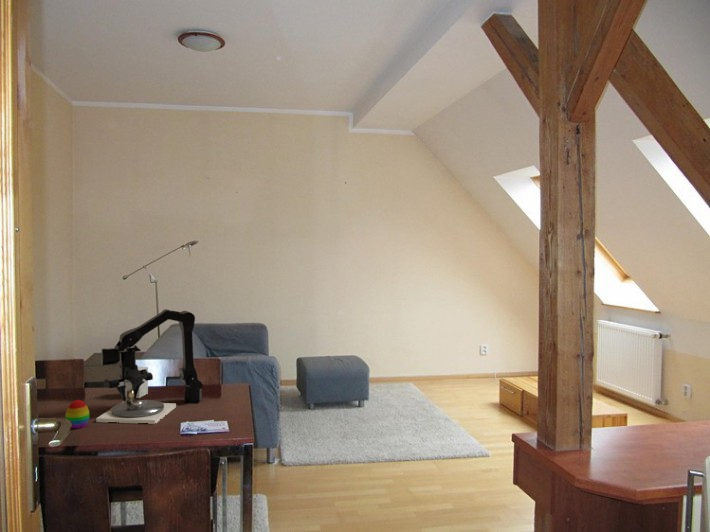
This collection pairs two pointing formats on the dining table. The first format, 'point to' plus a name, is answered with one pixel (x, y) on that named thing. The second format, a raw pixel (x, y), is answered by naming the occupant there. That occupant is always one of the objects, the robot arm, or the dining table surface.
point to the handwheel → (136, 407)
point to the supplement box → (143, 388)
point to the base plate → (145, 419)
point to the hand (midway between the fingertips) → (129, 399)
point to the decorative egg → (77, 414)
